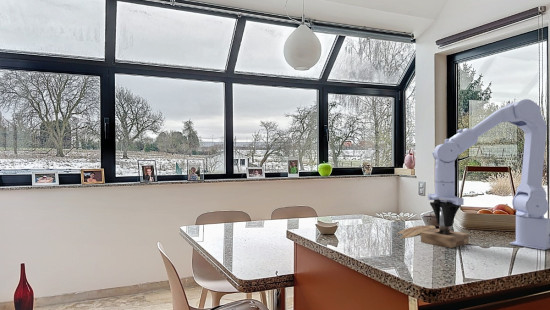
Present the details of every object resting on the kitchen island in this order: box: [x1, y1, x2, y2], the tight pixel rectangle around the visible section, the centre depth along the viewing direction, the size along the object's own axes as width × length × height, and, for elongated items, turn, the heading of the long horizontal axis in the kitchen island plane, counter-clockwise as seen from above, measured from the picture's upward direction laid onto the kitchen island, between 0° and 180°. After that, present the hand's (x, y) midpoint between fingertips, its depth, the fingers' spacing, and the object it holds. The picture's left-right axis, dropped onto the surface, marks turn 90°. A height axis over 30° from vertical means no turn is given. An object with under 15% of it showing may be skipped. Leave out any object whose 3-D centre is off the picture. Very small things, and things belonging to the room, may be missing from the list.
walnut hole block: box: [420, 228, 470, 249], centre depth 125 cm, size 10×10×3 cm
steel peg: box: [438, 207, 451, 235], centre depth 125 cm, size 3×3×9 cm
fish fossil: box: [397, 225, 437, 239], centre depth 142 cm, size 26×10×1 cm, turn 142°
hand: (444, 225), depth 125 cm, fingers closed on steel peg, 3 cm apart
